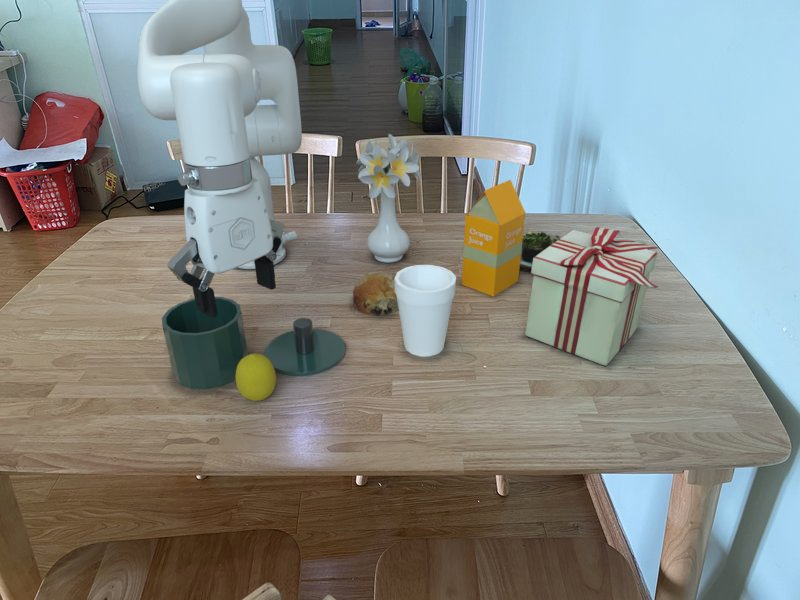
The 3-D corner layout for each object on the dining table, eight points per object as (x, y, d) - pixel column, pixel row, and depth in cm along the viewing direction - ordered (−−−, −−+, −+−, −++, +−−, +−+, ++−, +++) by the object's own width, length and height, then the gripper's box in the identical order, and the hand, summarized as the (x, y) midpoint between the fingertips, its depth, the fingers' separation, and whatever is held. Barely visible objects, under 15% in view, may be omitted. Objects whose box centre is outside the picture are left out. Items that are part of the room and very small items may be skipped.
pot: (227, 342, 101) (218, 289, 96) (262, 371, 93) (254, 315, 89) (162, 368, 94) (149, 313, 89) (194, 402, 87) (182, 344, 82)
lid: (315, 326, 105) (312, 295, 102) (361, 356, 97) (360, 323, 94) (250, 354, 98) (245, 321, 95) (294, 389, 89) (290, 355, 86)
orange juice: (461, 284, 119) (465, 186, 109) (486, 269, 124) (493, 175, 115) (494, 297, 114) (502, 195, 104) (519, 281, 120) (529, 183, 110)
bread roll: (410, 317, 115) (416, 275, 114) (393, 321, 105) (400, 275, 104) (362, 309, 117) (367, 268, 117) (341, 312, 108) (347, 267, 107)
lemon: (269, 414, 84) (263, 368, 80) (233, 409, 85) (224, 363, 81) (284, 390, 89) (278, 345, 85) (249, 386, 90) (242, 341, 86)
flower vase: (359, 278, 121) (354, 155, 109) (360, 241, 137) (356, 130, 125) (423, 276, 122) (426, 154, 109) (417, 240, 138) (419, 130, 126)
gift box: (633, 376, 92) (656, 275, 83) (520, 341, 101) (530, 246, 92) (658, 327, 104) (680, 235, 96) (556, 299, 113) (568, 212, 105)
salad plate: (483, 240, 137) (484, 222, 135) (556, 233, 141) (558, 215, 138) (515, 278, 121) (517, 257, 119) (597, 269, 124) (600, 249, 122)
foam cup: (412, 371, 93) (412, 297, 87) (385, 342, 100) (384, 272, 94) (464, 354, 97) (467, 283, 91) (434, 328, 104) (436, 260, 98)
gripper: (174, 198, 64) (200, 335, 72) (294, 163, 76) (305, 284, 84) (136, 185, 68) (165, 316, 76) (255, 154, 80) (269, 270, 88)
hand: (238, 299), depth 80 cm, fingers open, 9 cm apart
